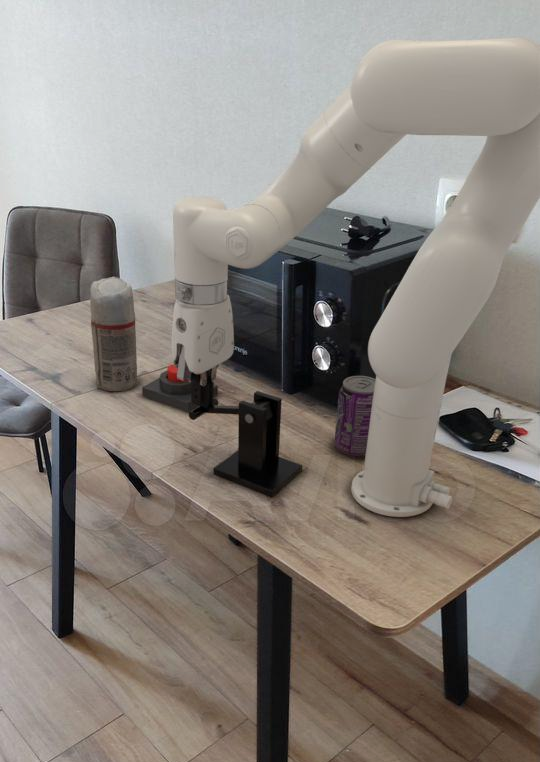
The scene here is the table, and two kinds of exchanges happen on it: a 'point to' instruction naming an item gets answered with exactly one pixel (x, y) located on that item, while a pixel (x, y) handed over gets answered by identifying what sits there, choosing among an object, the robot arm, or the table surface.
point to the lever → (226, 409)
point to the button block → (172, 392)
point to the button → (173, 374)
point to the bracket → (259, 450)
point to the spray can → (113, 334)
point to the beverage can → (354, 415)
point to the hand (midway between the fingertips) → (202, 403)
